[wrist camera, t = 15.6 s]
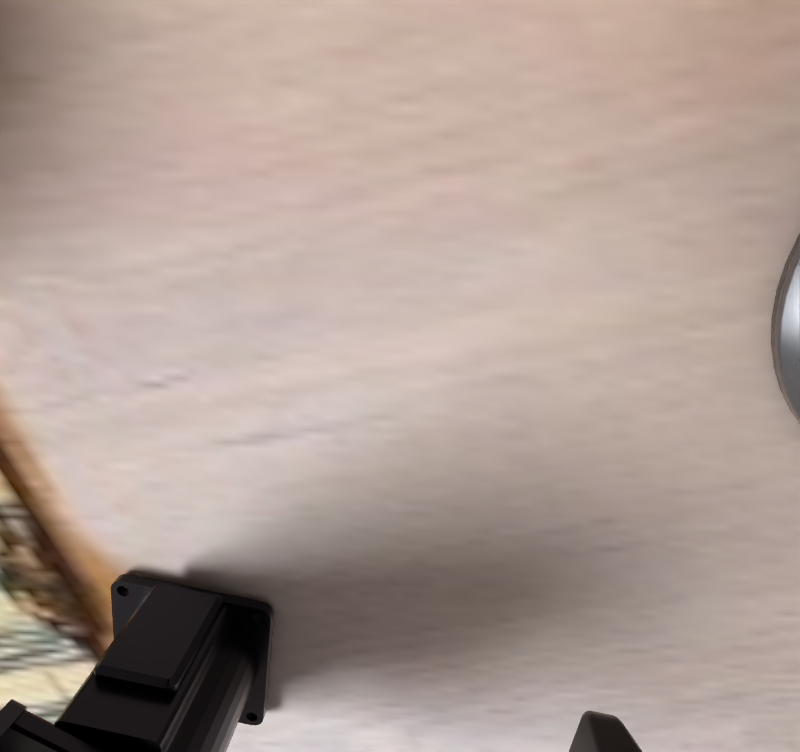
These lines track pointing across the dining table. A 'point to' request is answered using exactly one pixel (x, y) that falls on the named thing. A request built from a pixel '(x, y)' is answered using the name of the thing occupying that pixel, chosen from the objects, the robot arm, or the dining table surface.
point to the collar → (788, 331)
